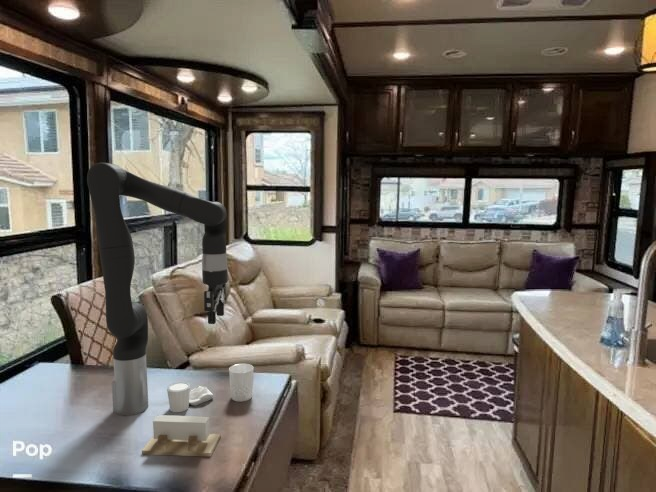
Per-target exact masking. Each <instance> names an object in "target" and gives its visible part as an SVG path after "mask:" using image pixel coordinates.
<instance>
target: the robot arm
mask: <svg viewBox="0 0 656 492" xmlns="http://www.w3.org/2000/svg"><path fill="white" fill-rule="evenodd" d="M86 184H87V187H88V191H89V195H90V199H91V204H92V207H93V212H94V219H95V220H94V221H95V227H96V235H97V246H98V252H99V260H100V264H101V269H102V279H103V285H104V295H105V321H106V322H105V323H106V326H107V329H108V331H109V333H110V334H111V335H112V336H114V337H115V338H117V340H116V343H115V345H114V347H113V349H112V358H113V359H112V360H113V377H114V379H113V381H112V383H111V394H112V395H111V396H112V412H113V413H115V414H117V415H121V416H133V415H137V414H140V413H142V412H145V411H146V410H147V409H148V408H149V393H148V391H149V390H148V389H149V388H148V369H147V366H148V365H147V347H148V343H149V342H148V341H149V318H148V317H149V316H148V312H147V310H146V309H145V306H143V305H142V304H141V303H140V302H137V301H132V295H131V286H132V279H133V274H134V269H135V264H136V259H135V249H134V241H133V238H132V235H131V232H130V230H129V227H128V225H127V223H126V220H125V219H124V216H123V213H122V207H121V199H120V196H125V197H130V198H134V199H138V200H141V201H144V202H146V203H148V204H150V205H152V206H155V207H156V208H159V209H162V210H163V211H166V212H169V213H172V214H175V215H178V216H180V217H181V216H182V217H184V218H189V219H191V220H193V221H195V222H197V223H200V224H201V225H204V229H203V230H204V233H203V236H202V241H201V242H202V243H201V246H202V247H201V248H202V257H201V271H202V272H201V273H202V274H201V275H202V279H201V280H202V284H203V285H206V286H208V288H207V291H206V290H205V291H204V292H203V295H204V296H203V297H204V298H203V299H204V300H203V304H204V305H203V306H204V308H203V309H204V312H207V323H208V325H215V324H216V323H217V318H216V317H223V316H225V303H226V301H227V284H228V282H229V281H228V280H229V279H228V278H229V275H228V273H229V272H228V270H229V268H228V257H227V239H226V237H227V236H226V234H227V233H226V232H227V225H228V213H227V209H226V207H225V206H224V205H223V204H222V203H221V202H219V201H209V200H206V199H203V198H199V197H197V196H196V195H193V194H191V193H190V192H187V191H183V190H180V189H177V188H174V187H171V186H167V185H163V184H160V183H156V182H154V181H150V180H147V179H145V178H143V177H141V176H138V175H137V174H134V173H132V172H130V171H128V170H126V169H124V168H123V167H121V166H120V165H117V164H114V163H109V162H97V163H94V164H92V165H91V167H90V168H89V170H88V171H87V175H86Z"/></svg>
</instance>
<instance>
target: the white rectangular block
mask: <svg viewBox="0 0 656 492" xmlns="http://www.w3.org/2000/svg"><path fill="white" fill-rule="evenodd" d="M210 428H211V427H210V416H197V415H195V416H194V415H171V414H170V415H168V414H167V415H165V414H163V415H162V414H159V415H158V414H157V415H156V417H155V418H154V419H153V420H152V430H153V432H152V433H153V436H154V439H158V436H159V434H160V435H167V439H168V440H188V437H189V436H197V441H206V440H207V438H208V437H209V435H210V434H211V433H210V432H211V429H210Z"/></svg>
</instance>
